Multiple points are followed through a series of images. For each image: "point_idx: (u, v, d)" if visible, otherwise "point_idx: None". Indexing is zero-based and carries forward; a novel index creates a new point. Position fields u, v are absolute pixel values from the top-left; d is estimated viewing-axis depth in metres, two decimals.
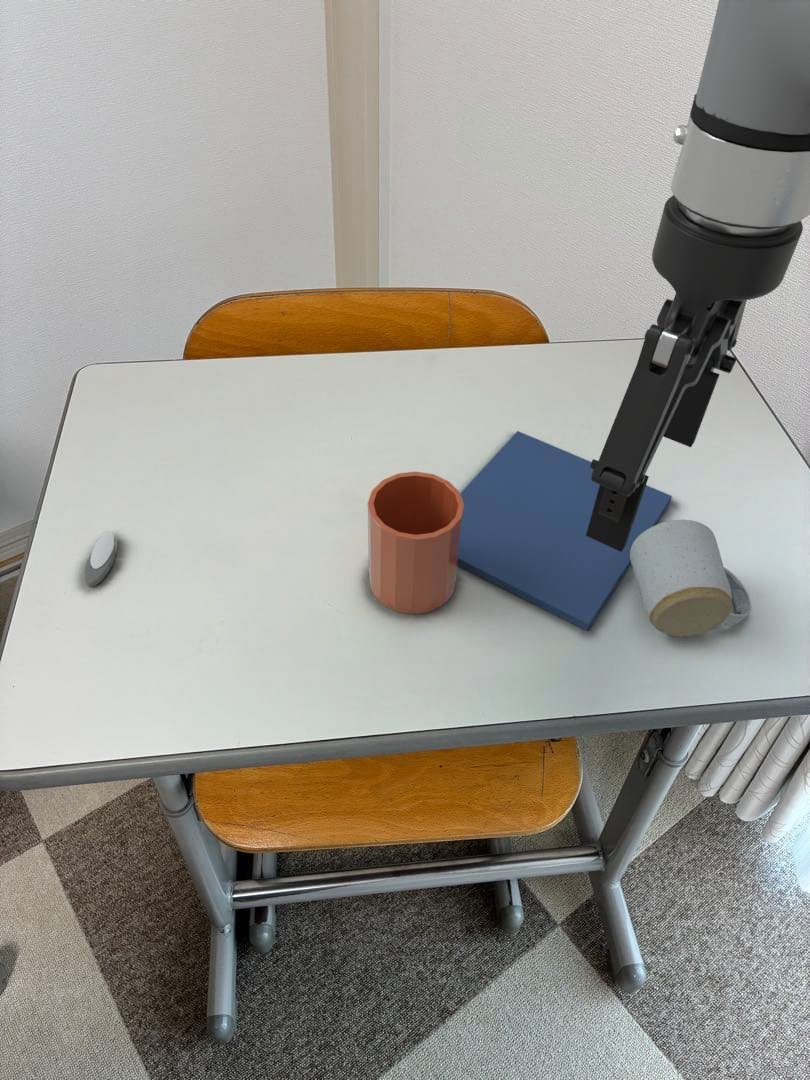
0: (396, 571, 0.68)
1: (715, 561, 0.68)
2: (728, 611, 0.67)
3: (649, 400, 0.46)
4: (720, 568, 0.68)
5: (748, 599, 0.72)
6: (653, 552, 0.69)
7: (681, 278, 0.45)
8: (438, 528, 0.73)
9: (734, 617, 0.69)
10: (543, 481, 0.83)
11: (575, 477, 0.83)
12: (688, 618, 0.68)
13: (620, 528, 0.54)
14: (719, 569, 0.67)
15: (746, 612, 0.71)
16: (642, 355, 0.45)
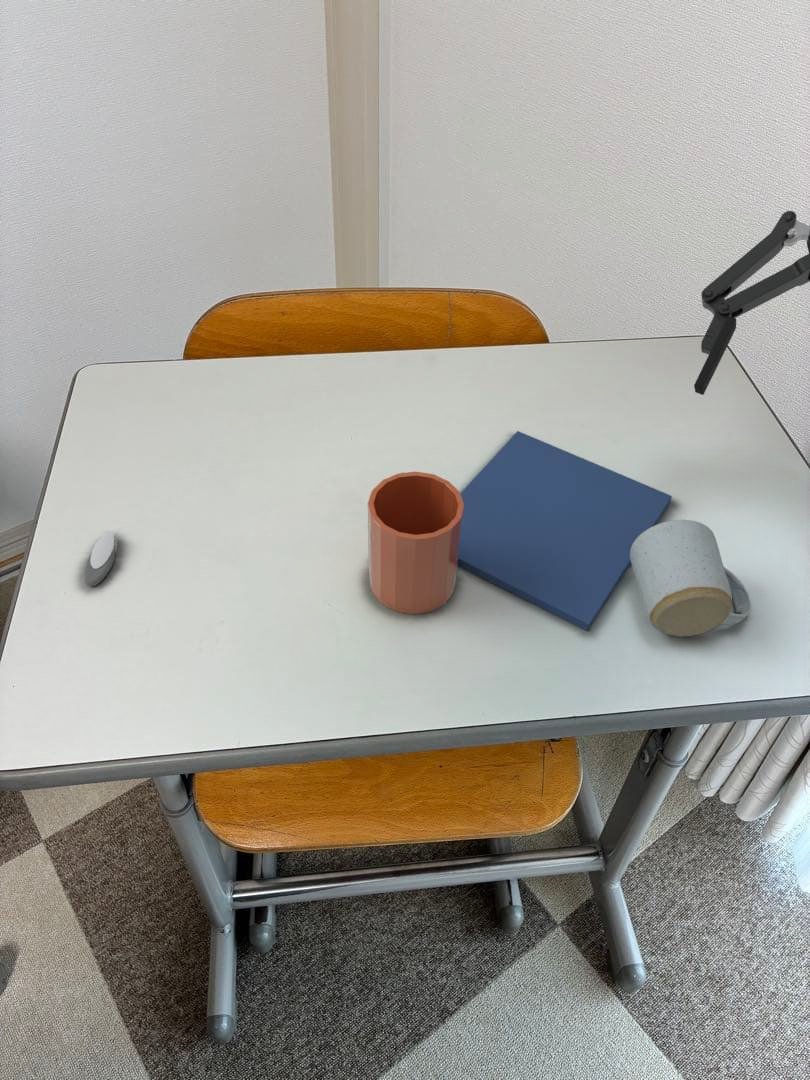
0: (396, 571, 0.68)
1: (715, 561, 0.68)
2: (728, 611, 0.67)
3: None
4: (720, 568, 0.68)
5: (748, 599, 0.72)
6: (653, 552, 0.69)
7: None
8: (438, 528, 0.73)
9: (734, 617, 0.69)
10: (543, 481, 0.83)
11: (575, 477, 0.83)
12: (688, 618, 0.68)
13: None
14: (719, 569, 0.67)
15: (746, 612, 0.71)
16: None
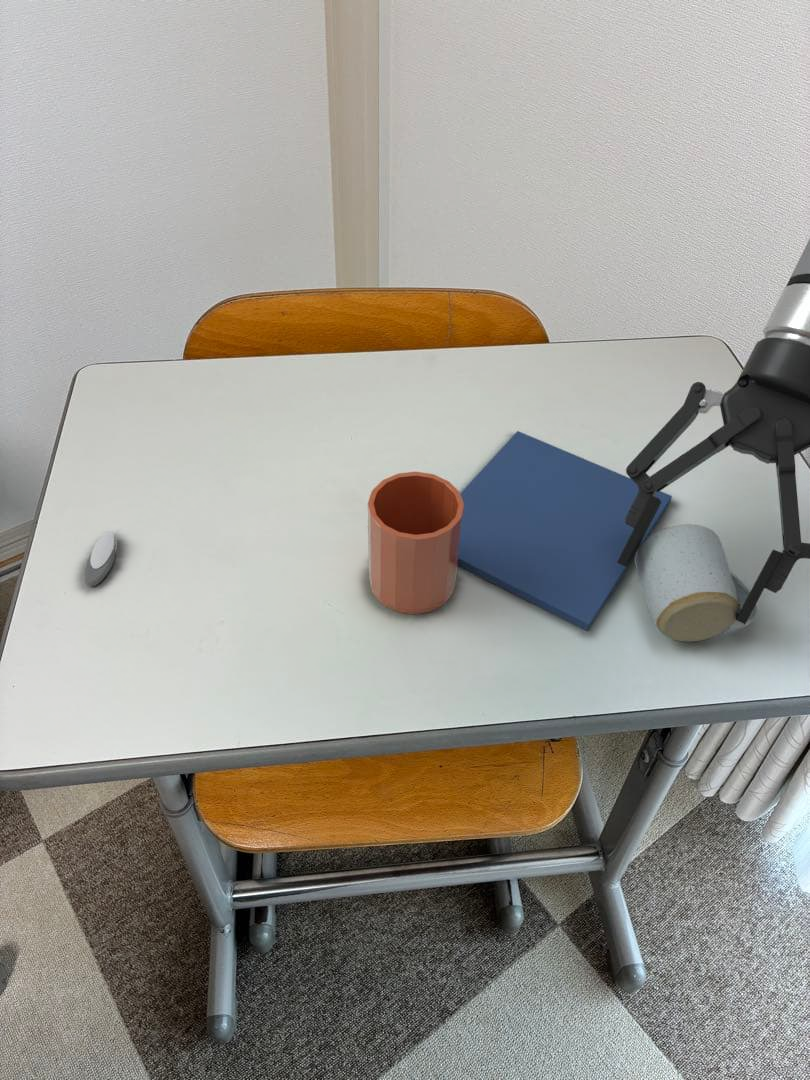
0: (396, 571, 0.68)
1: (721, 566, 0.67)
2: (735, 616, 0.67)
3: None
4: (727, 572, 0.67)
5: None
6: (659, 557, 0.69)
7: None
8: (438, 528, 0.73)
9: None
10: (543, 481, 0.83)
11: (575, 477, 0.83)
12: (695, 624, 0.68)
13: None
14: (726, 573, 0.67)
15: (752, 616, 0.70)
16: None
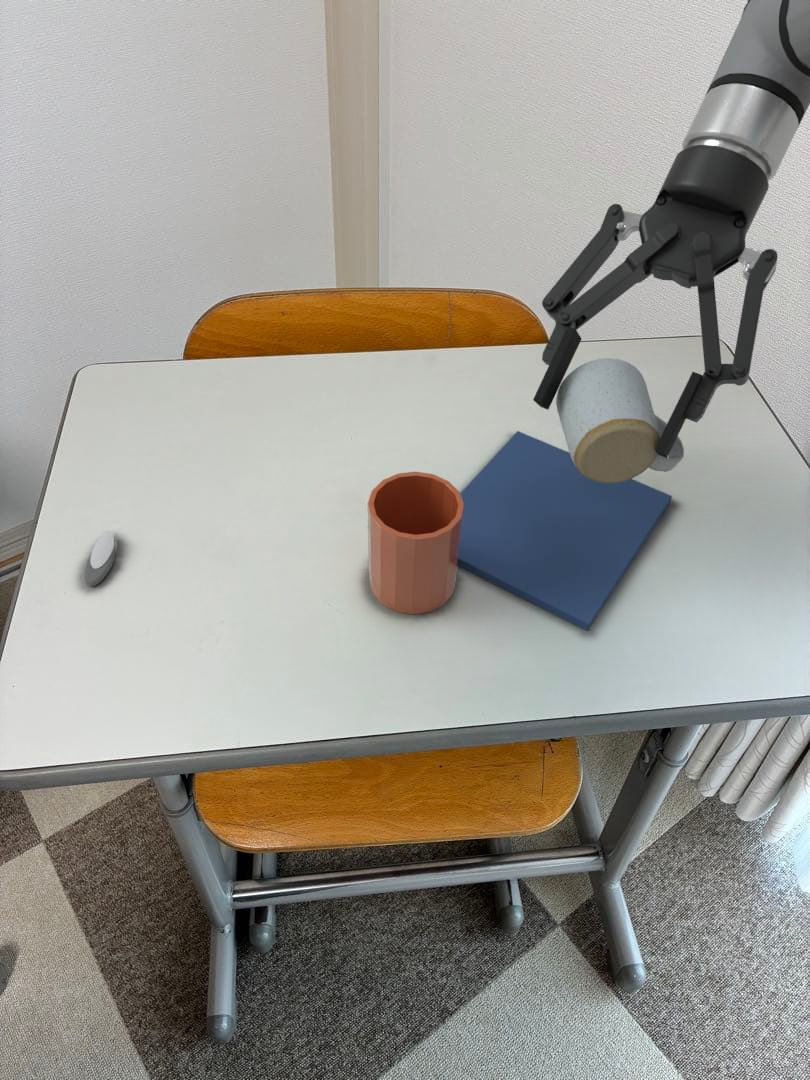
0: (396, 571, 0.68)
1: (641, 397, 0.64)
2: None
3: None
4: (647, 403, 0.63)
5: (681, 446, 0.68)
6: (577, 392, 0.65)
7: None
8: (438, 528, 0.73)
9: (664, 460, 0.65)
10: (543, 481, 0.83)
11: (575, 477, 0.83)
12: (614, 459, 0.64)
13: None
14: (645, 404, 0.63)
15: (678, 457, 0.66)
16: None
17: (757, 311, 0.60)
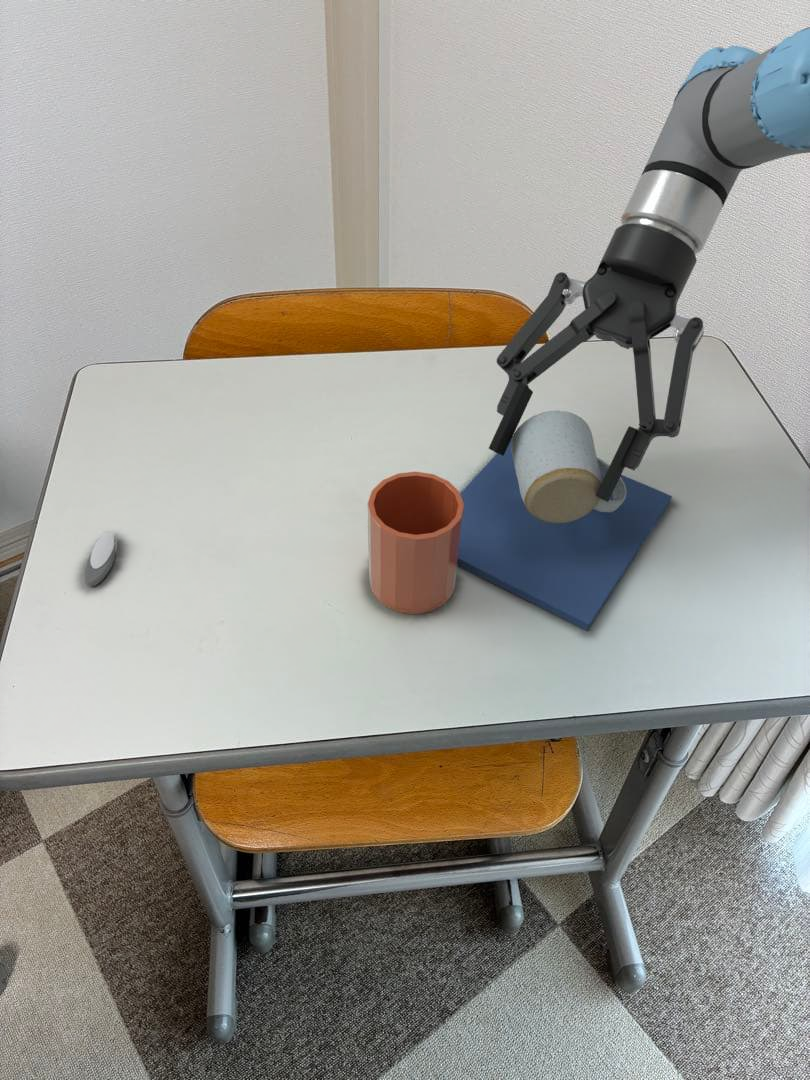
0: (396, 571, 0.68)
1: (585, 447, 0.70)
2: None
3: None
4: (590, 453, 0.70)
5: (624, 489, 0.75)
6: (527, 441, 0.72)
7: None
8: (438, 528, 0.73)
9: (607, 503, 0.72)
10: None
11: None
12: (560, 503, 0.71)
13: None
14: (588, 453, 0.70)
15: (620, 499, 0.73)
16: None
17: (685, 373, 0.67)
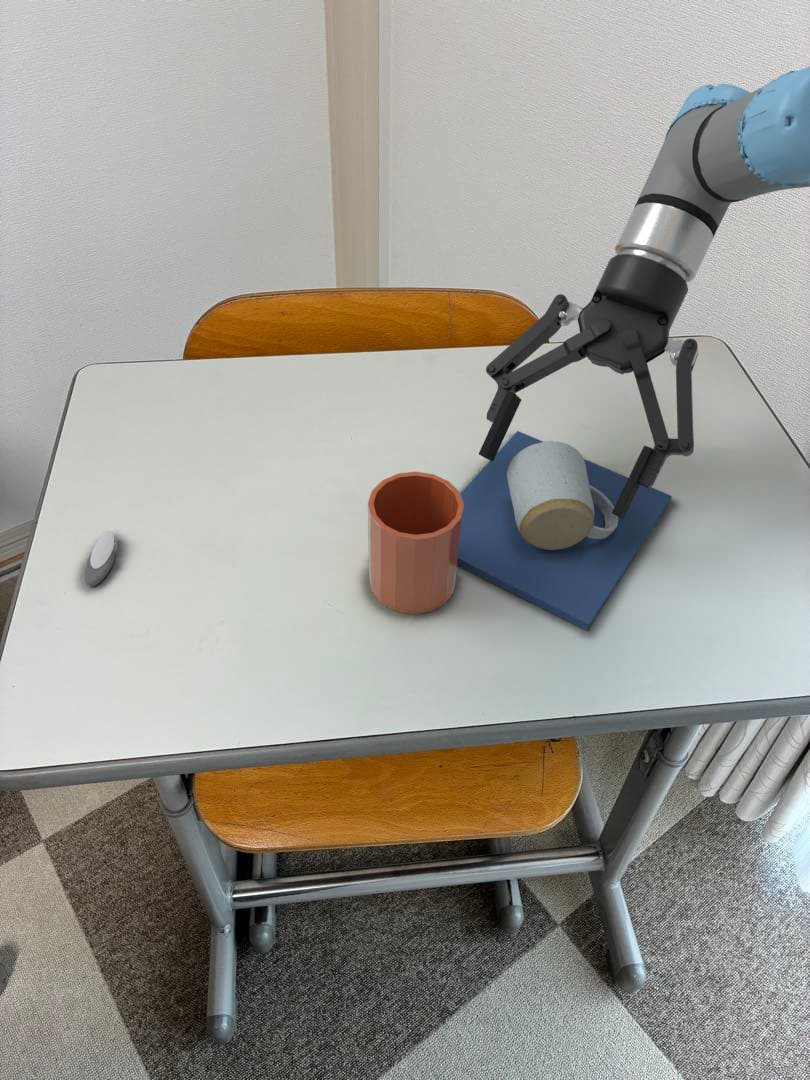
0: (396, 571, 0.68)
1: (578, 477, 0.73)
2: (590, 523, 0.72)
3: None
4: (582, 483, 0.73)
5: (616, 516, 0.77)
6: (523, 471, 0.74)
7: None
8: (438, 528, 0.73)
9: (599, 531, 0.75)
10: None
11: None
12: (554, 531, 0.73)
13: None
14: (581, 484, 0.73)
15: (612, 527, 0.76)
16: None
17: (689, 392, 0.68)
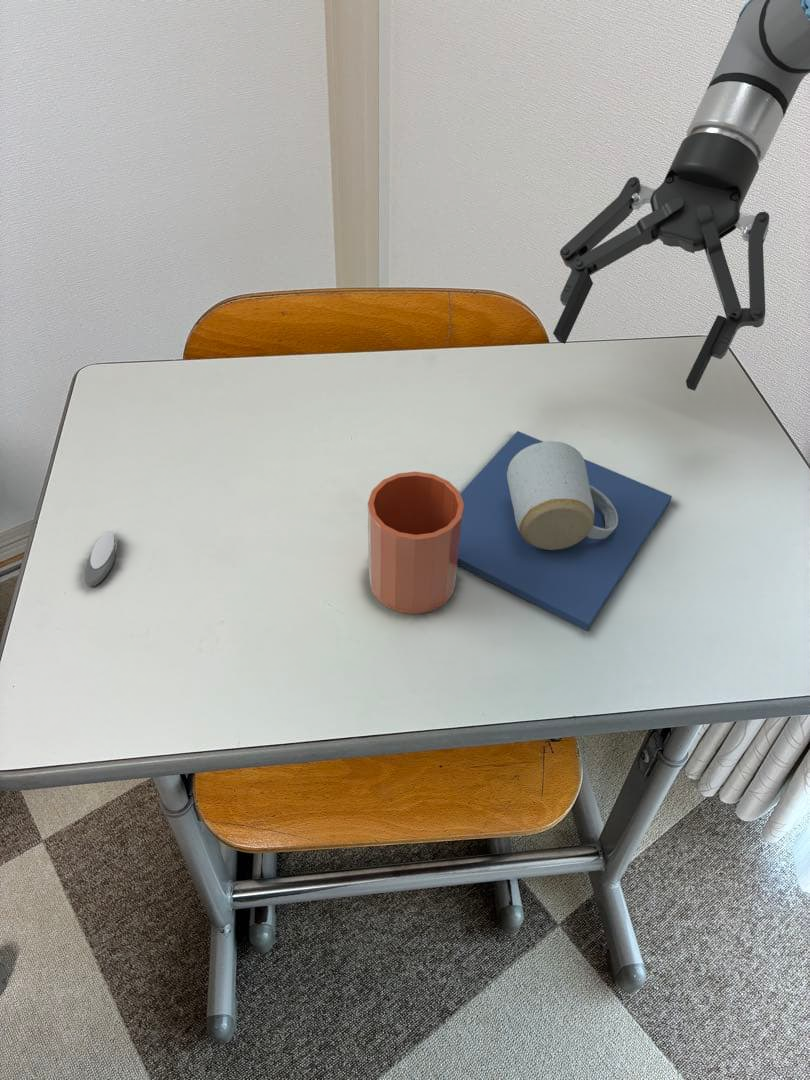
0: (396, 571, 0.68)
1: (578, 477, 0.73)
2: (590, 523, 0.72)
3: None
4: (582, 483, 0.73)
5: (616, 516, 0.77)
6: (523, 471, 0.74)
7: None
8: (438, 528, 0.73)
9: (599, 531, 0.75)
10: None
11: None
12: (554, 531, 0.73)
13: None
14: (581, 484, 0.73)
15: (612, 527, 0.76)
16: None
17: (762, 263, 0.72)
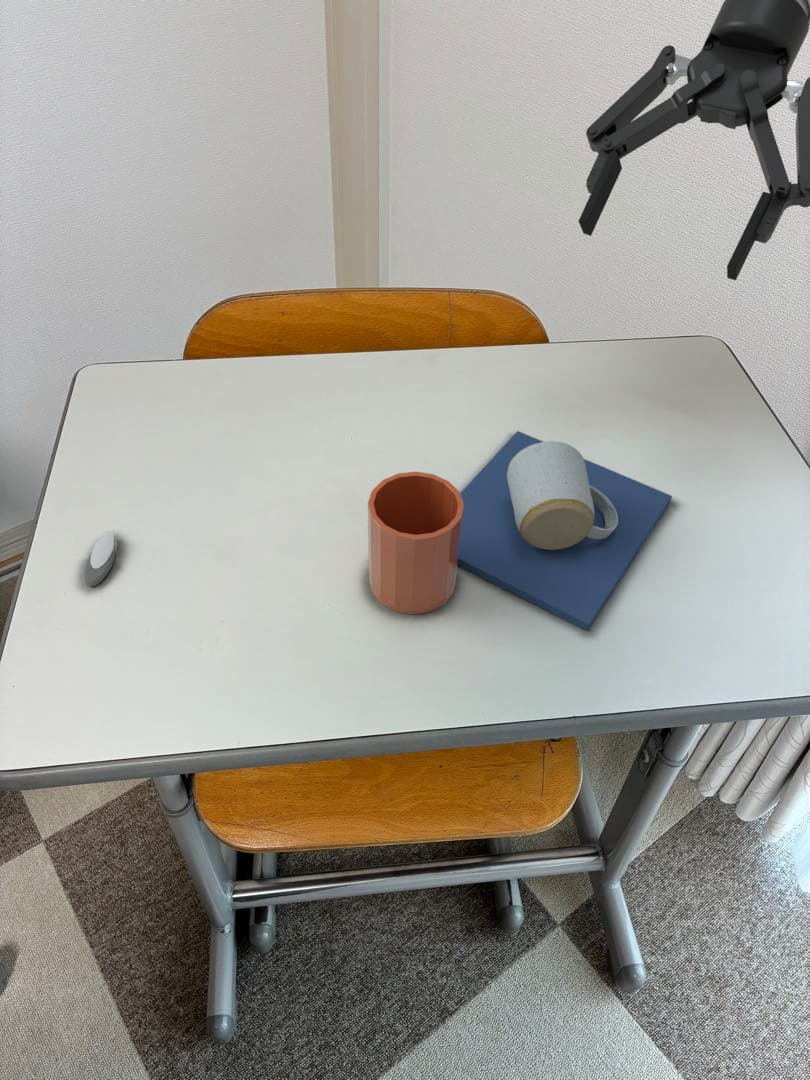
0: (396, 571, 0.68)
1: (578, 477, 0.73)
2: (590, 523, 0.72)
3: None
4: (582, 483, 0.73)
5: (616, 516, 0.77)
6: (523, 471, 0.74)
7: None
8: (438, 528, 0.73)
9: (599, 531, 0.75)
10: None
11: None
12: (554, 531, 0.73)
13: None
14: (581, 484, 0.73)
15: (612, 527, 0.76)
16: None
17: None
